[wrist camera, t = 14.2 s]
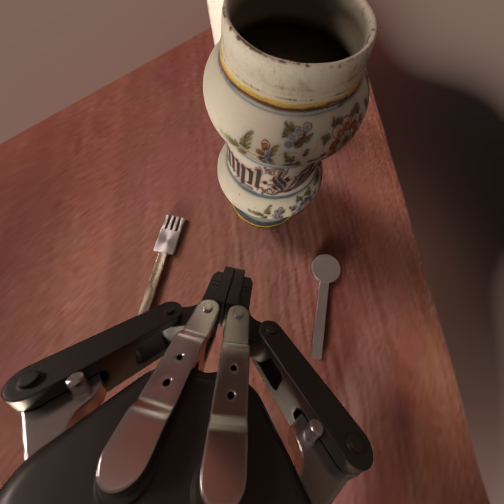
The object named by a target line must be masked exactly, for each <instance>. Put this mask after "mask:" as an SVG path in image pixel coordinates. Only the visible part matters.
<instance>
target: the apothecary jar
mask: <svg viewBox="0 0 504 504" xmlns="http://www.w3.org/2000/svg"><path fill="white" fill-rule="evenodd" d="M376 35H377V23H376V18H375V15H374V12H373V10H372V9H371V7H370V5H369V4H368V2H367V1H366V0H224V2H223V5H222V13H221V38H220V40H219V42H218V43H217V44H216V46H215V47H214V49H213V50H212V52H211V54H210V56H209V59H208V61H207V64H206V67H205V72H204V78H203V94H204V100H205V104H206V108H207V111H208V114H209V116H210V119H211V121H212V123H213V125H214V126H215V128H216V130H217V131H218V133H219V134H220V135H221V136H222V138H223V139H224V140H225V141H226V143H225V145H224V146H223V148H222V150H221V153H220V155H219V159H218V166H217V172H218V179H219V183H220V186H221V188H222V190H223V192H224V194H225V195H226V197H227V198H228V199H229V200H230V202H231V203H232V205H233V207H234V210H235V211H236V212H237V214H238V215H239V216H240V217H241V218H242V219H243V220H245V221H246V222H248V223H250V224H252V225H255V226H258V227H273V226H276V225H279V224H282V223H283V222H285V221H287V220H288V219H289V218H290V217H291V216H292V215H293V214H295V213H297V212H299V211H301V210H302V209H303V208H305V207H306V206H307V205H308V204H309V203H310V202H311V201H312V199H313V198H314V197H315V195H316V194H317V192H318V190H319V187H320V184H321V181H322V170H323V169H322V161H321V160H323V159H325V158H327V157H329V156H331V155H333V154H334V153H336V152H337V151H338V150H340V149H341V148H342V147H343V146H344V145H345V144H346V143H347V142H348V141H349V140H350V139H351V138H352V137H353V136H354V134H355V133H356V131H357V130H358V128H359V127H360V125H361V123H362V121H363V119H364V116H365V114H366V110H367V107H368V103H369V79H368V74H367V70H366V62H367V60H368V58H369V56H370V53H371V51H372V49H373V46H374V43H375V40H376Z"/></svg>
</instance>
